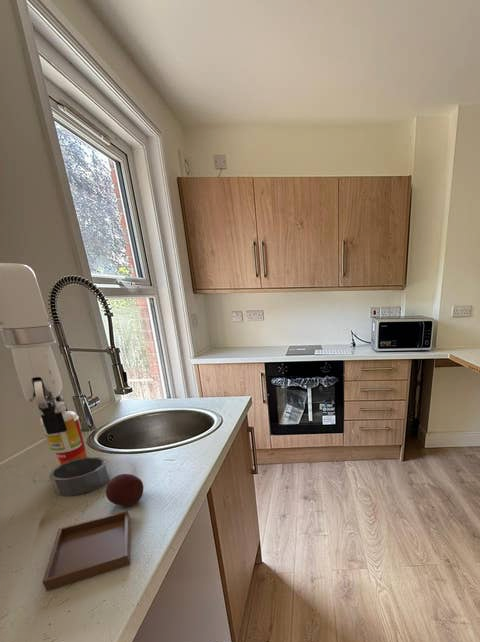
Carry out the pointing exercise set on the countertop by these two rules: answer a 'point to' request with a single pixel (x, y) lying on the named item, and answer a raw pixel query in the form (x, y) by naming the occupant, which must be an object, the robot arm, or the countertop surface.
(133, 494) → the dark red plum
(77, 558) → the tray
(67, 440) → the supplement bottle
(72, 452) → the coffee cup
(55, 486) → the grey round bowl
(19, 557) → the countertop surface
